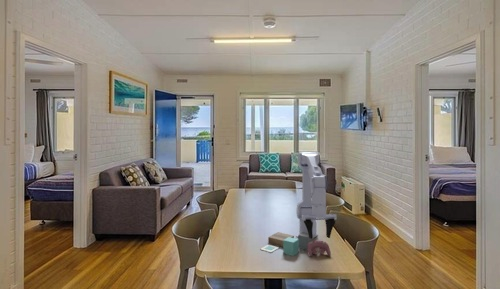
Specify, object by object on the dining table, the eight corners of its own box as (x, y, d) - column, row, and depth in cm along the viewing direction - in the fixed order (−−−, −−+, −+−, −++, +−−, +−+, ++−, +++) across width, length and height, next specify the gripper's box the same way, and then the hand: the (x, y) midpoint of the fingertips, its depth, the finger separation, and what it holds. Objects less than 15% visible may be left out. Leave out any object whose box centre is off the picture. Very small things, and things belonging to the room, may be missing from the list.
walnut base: (278, 237, 157) (278, 232, 157) (293, 241, 152) (293, 235, 151) (268, 243, 150) (268, 236, 150) (284, 247, 144) (284, 241, 144)
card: (268, 245, 147) (268, 244, 147) (279, 247, 144) (279, 247, 144) (260, 249, 142) (260, 248, 142) (271, 252, 138) (271, 251, 138)
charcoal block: (303, 244, 149) (303, 231, 148) (312, 246, 146) (312, 234, 145) (298, 247, 145) (298, 234, 144) (307, 250, 142) (307, 237, 141)
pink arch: (329, 257, 137) (327, 240, 140) (332, 256, 133) (330, 239, 136) (307, 257, 137) (305, 241, 140) (309, 256, 133) (307, 239, 135)
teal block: (288, 249, 142) (288, 236, 141) (298, 252, 139) (298, 239, 138) (283, 253, 138) (283, 240, 138) (293, 256, 135) (293, 242, 134)
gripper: (305, 205, 124) (306, 240, 123) (339, 205, 126) (340, 239, 125) (299, 203, 131) (300, 236, 130) (332, 203, 133) (333, 235, 132)
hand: (319, 237), depth 128 cm, fingers open, 7 cm apart
